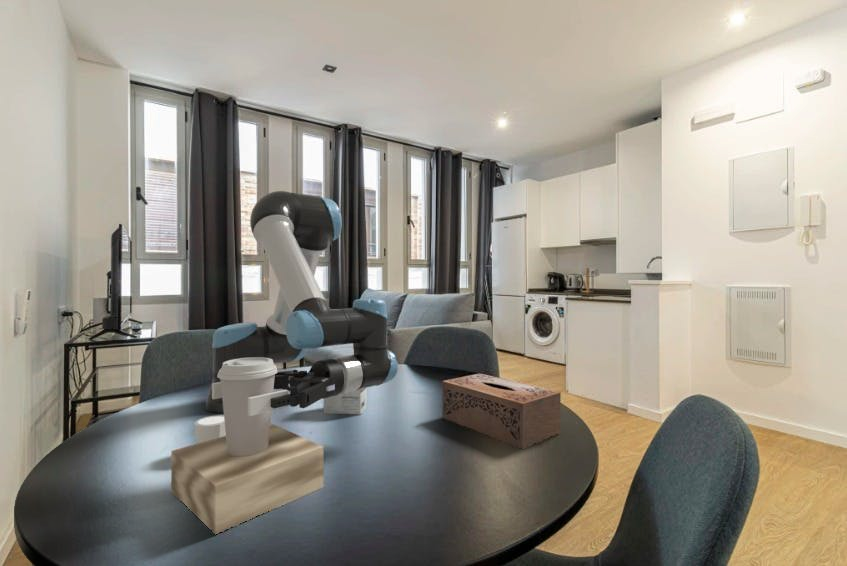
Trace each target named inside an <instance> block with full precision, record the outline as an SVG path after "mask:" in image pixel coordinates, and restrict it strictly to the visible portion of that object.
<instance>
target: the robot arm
mask: <svg viewBox="0 0 847 566" xmlns="http://www.w3.org/2000/svg"><path fill="white" fill-rule="evenodd" d="M249 221H250V222H249V223H250V230H251V233H252V235H253V237H254V239H255V241H256V242H257V243H258V244H260V245H262V248H263V250H264V252H265V254H266V258H267V260H268V261H269V265H270V267H271V269H272V271H273V273H274V276H275V278H276V280H277V282H278V283H277V284H278V285H279V290H278V293H277V299H276V303H275V307H274V311H273V314H271V315H269V316H268V317H267V319H266V322H265V325H264V326H258V324H257V323H256V322H254V321H253V322H251V321H250V322H239V323H233V324H229V325H225V326H221V327H218V328H217V329H216V330H215V331H214V332H213V335H212V345H211V347H212V381H211V382H212V383H211V385H210V388H209V391H208V393H207V396H206V399H205V409H206V411H208V412H211V413H218V414H221V413H223V414H224V411H223V400H222V390H221V380H220V378H218V377H217V375H218V372H219V370H220V369H221V368H222V364H223V363H224V362H225V361H228V360H233V359H239V358H250V357H264V358H270V359H272V360H273V363H274V365H276V364H281V363H282V364H283V363H292V362H294V361H299V360H301V359H302V358H304V357H305V356H306V355H307V354H306V353H307V352H308V350H315V349H316V350H317V349H319V348H323V347H324V348H327V347H333V346H334V347H335V346H341V345H342V346H344V345H352V349H353V354H348V355H343V356H336V357H333V358H326V359H320V360H317V361H315V362H314V363H312V365H311V367H310V369H309V371H308V370H298V369H292V370H286V371H278V372H277V373H276V374H275V378H274V388H273V390H278V391H273V393H268V394H263V395H259V396H254V397H249V398H248V416H253V415H257V414H261V413H265V412H269V411H271V412H272V411H277V410H281V409H284V408H287V407H289V406H290V407H292V408H295V407H297V406H299V409H305V408H308V407H309V406H312V405H313V404H314V403H317V402H318V401H320V400H321V399H322V400H324V398H328V397H332V396H336V395H338V394H343V393H344V395H348V392H351V391H355V390H359V389H363V388H366V389H367V388H371V387H379V386H380V385H383V384H386V383H388V382H391V381H392V380H394V379H395V377H396V376H397V373H398V371H399V363H398V361H397V357H396V355H395V353H393V352H392V351H391V350H390V349H388V344H387V339H388V338H387V337H388V309H387V308H388V307H387V302H386V301H385V300H383V299H381V298H361V299H360V298H359V299H355V300H354V301H353V302H352V306H351V307H350V308H349V307H348V308H337V309H335V308H334V309H331V308H330V306H329V304H328V302H327V300H326V298H325V296H324V294H323V292H322V290H321V288H320V287H319V284H318V282H317V280H316V278H315V274H316V271H317V266H318V262H319V260H320V254H321V253H323V252H325V251H326V250H327V249H328V246H329V242H334V241H335V240H337V239H338V238H339V237H340V235H341V233H342V226H343V223H342V214H341V211H340V207H339V206H338V204H337V203H336V202H335V201H334V200H333V199H330V198H326V197H322V196H320V195H317V196H316V195H311V194H310V195H309V194H304V193H295V192H290V191H285V190H278V191H277V190H276V191H272V192H269V193H267V194H265V195H263V196H262V197H261V198H260V199H259V200H257V202H256V203H255V204H254V206H253V208H252V210H251V214H250V219H249Z"/></svg>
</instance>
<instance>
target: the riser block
mask: <svg viewBox="0 0 847 566" xmlns="http://www.w3.org/2000/svg"><path fill="white" fill-rule="evenodd" d="M324 451H325V450H324V446H322V445H320V444H318V443H316V442H314V441H311V440H309V439H307V438H304V437H303V436H301V435H299V434H296V433H294V432H291V431H289V430H288V429H285V428H283V427H281V426H279V425H277V424H274V423H271V422H270V432H269V444H268V448H267V449H266V450H264V451H262V452H260V453H257V454H254V455H249V456H232V455H229V454H228V453H227V443H226V436H223V437H219V438H216V439H212V440H209V441H205V442H201V443H198V444H196V443H195V444H194V443H193V444H191V445H188V446H184V447H180V448H177V449H174V450H173V449H172V450H171V461H170V462H171V464H170V465H171V466H170V467H171V472H170V473H171V474H170V475H171V476H170V478H171V483H170V484H171V487H170V489H171V490H170V491H171V493H172V494H173V493H174V494H173V495H174V496H175V497H176V498H177V499H178V501H180V502H181V501H182V502H183V503H184V504H185V505H186V506H187V507H188V508H189V509H190V510H191V511H192V512H193V513H194V514H195V515H196V516H197V517H198V518H199V519H200V520H201V521H203V522H204V523H205V524H206V525H207V526H208V527H209V528H210V529H211V530H212V531H213V532H214V533H215V534H217V533H219V532H222V531H224V530H226V529H229V528H231V527H233V526H236V525H238V524H240V523H242V522H244V521H246V520H249V519H251V520H253V519H252V518H254V517H255V516H258V515H260V514H263V513H265V514H266V512H267V513H269V512H271V511H274V510H276V509H277V508H280V507H283V506H284V505H287V504H289V503H291V502H293V501H295V500H298V499H301V498H303V497H305V496H307V495H309V494H311V493H314V492H315V491H318V490H320V489H322V488H324V479H325V478H324V475H325V474H324V468H325V467H324V463H325V462H324ZM182 502H181V503H182ZM183 503H182V504H183ZM184 504H183V505H184ZM185 505H184V506H185ZM282 505H283V506H282ZM186 506H185V507H186ZM187 507H186V508H187ZM188 508H187V509H188ZM275 508H276V509H275ZM189 509H188V510H189ZM273 509H274V510H273ZM190 510H189V511H190ZM191 511H190V512H191ZM268 511H269V512H268ZM192 512H191V513H192ZM193 513H192V514H193ZM194 514H193V515H194ZM195 515H194V516H195ZM263 515H264V514H263ZM196 516H195V517H196ZM260 516H261V515H260ZM197 517H196V518H197ZM258 517H259V516H258ZM198 518H197V519H198ZM199 519H198V520H199ZM254 519H255V518H254ZM200 520H199V521H200ZM201 521H200V522H201ZM249 521H250V520H249ZM240 525H241V524H240ZM238 526H239V525H238ZM236 527H237V526H236ZM231 529H232V528H231ZM229 530H230V529H229Z"/></svg>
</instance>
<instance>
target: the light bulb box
mask: <svg viewBox="0 0 847 566" xmlns="http://www.w3.org/2000/svg"><path fill="white" fill-rule="evenodd" d="M367 406H368V405H367V388H363V389H359V390H355V391H351V392H348V395H344V393H343V394H338V395H336V396H332V397H328V398H324V399H323V414H333V415H334V414H336V415H337V414H338V415H361V414H362V413H363V412H364V411H365V410H366V408H368V407H367Z"/></svg>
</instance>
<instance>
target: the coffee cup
mask: <svg viewBox="0 0 847 566" xmlns="http://www.w3.org/2000/svg"><path fill="white" fill-rule="evenodd" d="M277 372H279V371H278V368H277V365H276V364H274V363H273V360H272V359H270V358H264V357H250V358H239V359H233V360H228V361H225V362H224V363H223V364H222V368H221V369H220V370H219V372H218V375H217V377H218V378H220V380H221V390H222V400H223V411H224V413H223V415H224V421H225V432H226V443H227V453H228V454H229V455H232V456H249V455H254V454H257V453H260V452H262V451H264V450H266V449H267V448H268V444H269V432H270V423H271V420H272V411H269V412H265V413H261V414H257V415H253V416H248V398H249V397H254V396H259V395H263V394H268V393H273V392H274V389H273V388H274V378H275V374H276V373H277Z"/></svg>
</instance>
